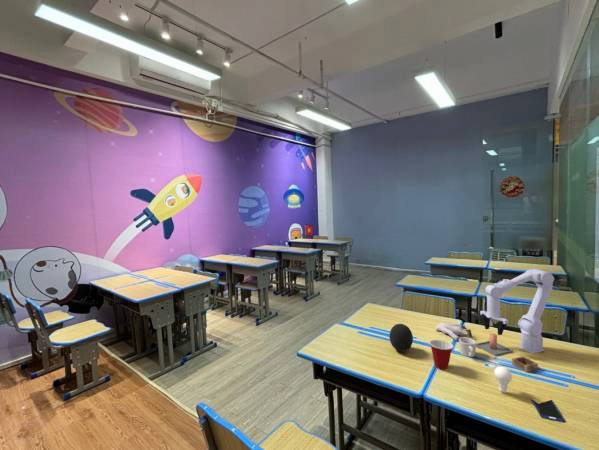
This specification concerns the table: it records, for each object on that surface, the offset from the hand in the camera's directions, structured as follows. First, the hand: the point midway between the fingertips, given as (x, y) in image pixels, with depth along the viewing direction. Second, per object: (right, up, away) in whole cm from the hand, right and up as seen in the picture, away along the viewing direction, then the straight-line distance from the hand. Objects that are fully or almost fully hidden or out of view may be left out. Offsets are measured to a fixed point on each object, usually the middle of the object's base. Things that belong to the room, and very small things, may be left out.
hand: (493, 331), depth 153 cm
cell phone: (-9, -14, -43) cm, 46 cm away
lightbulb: (-19, -13, -34) cm, 41 cm away
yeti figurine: (-10, -10, +21) cm, 26 cm away
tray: (0, -10, +1) cm, 10 cm away
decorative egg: (-49, -12, +4) cm, 51 cm away
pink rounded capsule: (0, -9, 0) cm, 9 cm away
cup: (-17, -11, -5) cm, 21 cm away
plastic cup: (-35, -13, -13) cm, 40 cm away
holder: (+3, -11, -17) cm, 21 cm away
